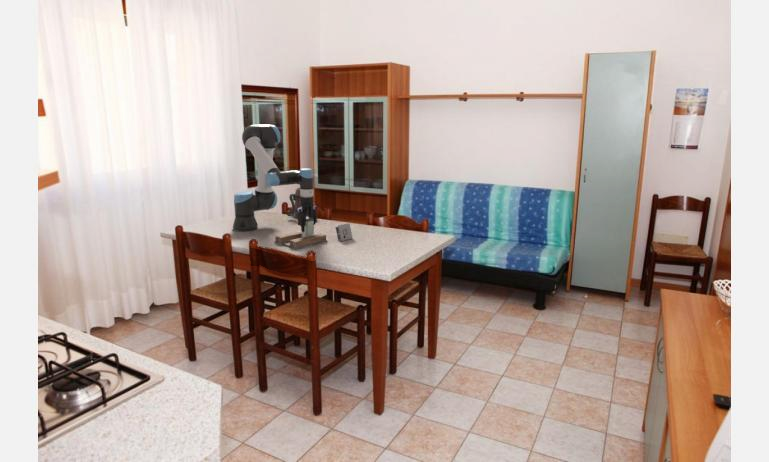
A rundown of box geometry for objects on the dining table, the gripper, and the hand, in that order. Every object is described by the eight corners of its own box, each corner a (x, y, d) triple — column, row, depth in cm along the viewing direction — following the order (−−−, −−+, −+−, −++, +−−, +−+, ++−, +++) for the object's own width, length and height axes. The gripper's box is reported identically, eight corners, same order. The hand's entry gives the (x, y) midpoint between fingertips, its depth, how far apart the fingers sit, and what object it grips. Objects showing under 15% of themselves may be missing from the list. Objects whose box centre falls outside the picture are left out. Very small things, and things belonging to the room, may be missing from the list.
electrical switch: (341, 241, 284) (340, 225, 282) (335, 240, 287) (334, 225, 285) (352, 238, 291) (351, 223, 289) (346, 238, 294) (345, 222, 292)
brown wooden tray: (274, 242, 279) (274, 235, 278) (304, 235, 295) (304, 229, 294) (296, 249, 266) (296, 241, 265) (327, 242, 282) (327, 234, 281)
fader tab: (301, 238, 284) (301, 217, 281) (307, 237, 287) (306, 216, 284) (308, 240, 280) (308, 219, 277) (314, 238, 283) (313, 218, 280)
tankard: (304, 213, 359) (303, 186, 354) (320, 216, 349) (320, 188, 345) (279, 218, 341) (278, 190, 336) (296, 222, 331) (295, 192, 326)
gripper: (298, 198, 269) (299, 240, 275) (323, 195, 282) (323, 234, 287) (290, 197, 274) (291, 237, 280) (314, 193, 287) (315, 232, 292)
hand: (307, 236), depth 283 cm, fingers open, 4 cm apart
